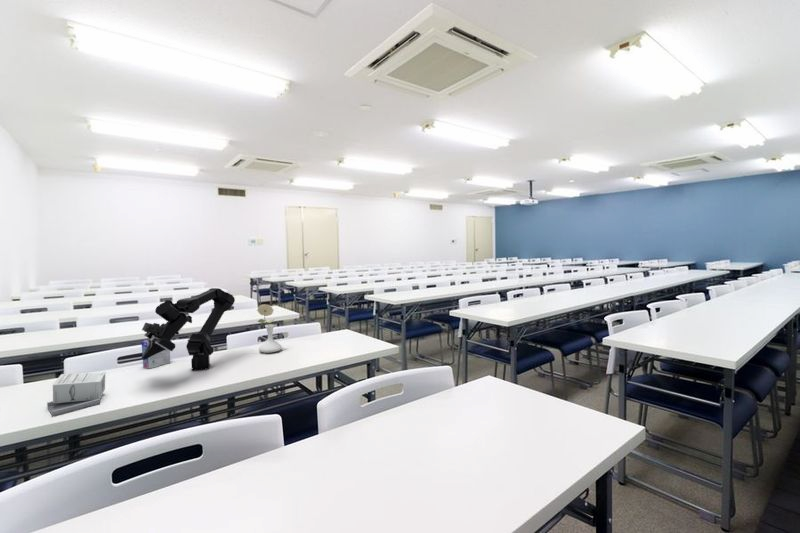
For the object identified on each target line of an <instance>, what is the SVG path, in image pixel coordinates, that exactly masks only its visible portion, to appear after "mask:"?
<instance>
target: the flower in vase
mask: <svg viewBox="0 0 800 533" xmlns="http://www.w3.org/2000/svg"><path fill="white" fill-rule="evenodd" d="M256 311H257V312H258V314H259V315H260V316H264V319H263V318H260V319H259V320H258V321H257V323H260V324H261V323H262V324H263V323H266V324H265V325H264V327H265V328H266V331H267V339H266V341H264V342H263V343H262V344H261V345H260V346H259V347H258V351H259V352H261V353H267V354H269V353H276V352H279V351H280V350H281V349H282V348H283V346H282V345H281V344H280V343H279V342H277V341H276V340H275V339H274V337H273V332H274V331H273V330H274V327H275V326H276V325H275V324H270V323H273V321H275V318H273V319H271V320H269V321H267V320H266V317H268V316H271V315H273V313H274V309H273V306H272V305H269V304H260V305H258V307H257V310H256Z"/></svg>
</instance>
